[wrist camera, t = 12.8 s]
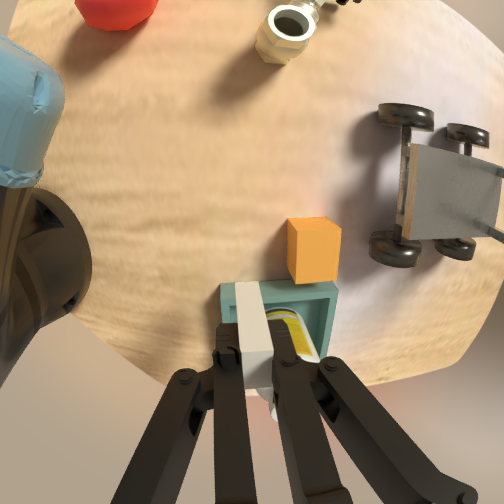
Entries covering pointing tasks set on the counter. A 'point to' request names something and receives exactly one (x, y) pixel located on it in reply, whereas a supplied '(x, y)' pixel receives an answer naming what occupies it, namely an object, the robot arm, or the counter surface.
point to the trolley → (438, 192)
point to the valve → (288, 30)
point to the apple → (115, 13)
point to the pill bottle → (301, 345)
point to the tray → (293, 305)
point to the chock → (313, 249)
